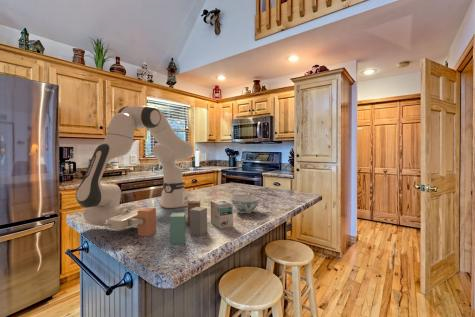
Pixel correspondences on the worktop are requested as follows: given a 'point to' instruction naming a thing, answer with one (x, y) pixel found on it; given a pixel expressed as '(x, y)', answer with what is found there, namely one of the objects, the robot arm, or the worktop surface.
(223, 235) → the worktop surface
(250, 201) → the chinaware
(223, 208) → the light bulb box
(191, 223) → the slate-grey block
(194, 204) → the walnut block
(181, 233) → the muted teal block
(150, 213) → the terracotta block
